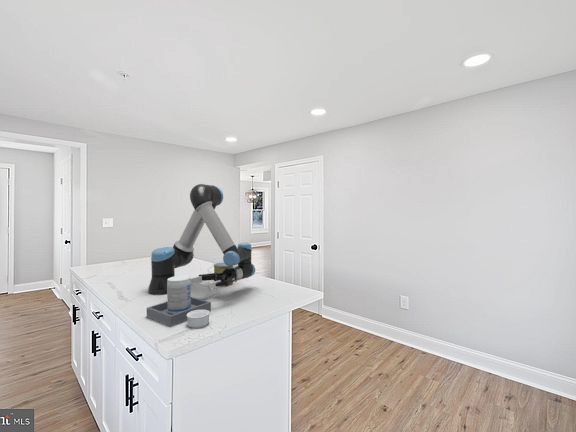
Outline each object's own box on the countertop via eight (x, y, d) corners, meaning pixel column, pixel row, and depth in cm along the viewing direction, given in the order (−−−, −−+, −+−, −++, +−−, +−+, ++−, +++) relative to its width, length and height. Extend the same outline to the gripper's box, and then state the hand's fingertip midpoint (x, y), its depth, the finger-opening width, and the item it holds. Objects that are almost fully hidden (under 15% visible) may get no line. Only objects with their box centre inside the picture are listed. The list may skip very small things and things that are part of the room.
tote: (146, 317, 118) (146, 307, 118) (186, 303, 135) (186, 295, 135) (170, 326, 109) (170, 316, 109) (210, 310, 125) (210, 302, 125)
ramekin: (181, 326, 109) (181, 315, 109) (196, 318, 117) (196, 308, 117) (200, 330, 106) (200, 319, 106) (214, 321, 114) (214, 310, 114)
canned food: (223, 287, 161) (223, 267, 161) (210, 284, 167) (209, 264, 167) (237, 283, 171) (237, 263, 170) (223, 280, 177) (223, 261, 176)
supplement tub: (193, 312, 120) (193, 278, 120) (169, 317, 115) (169, 282, 115) (187, 306, 129) (187, 274, 128) (165, 310, 123) (165, 277, 123)
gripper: (250, 285, 141) (218, 296, 124) (215, 278, 155) (182, 287, 137) (250, 270, 141) (218, 279, 123) (215, 264, 155) (182, 272, 137)
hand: (199, 283), depth 130 cm, fingers open, 13 cm apart
